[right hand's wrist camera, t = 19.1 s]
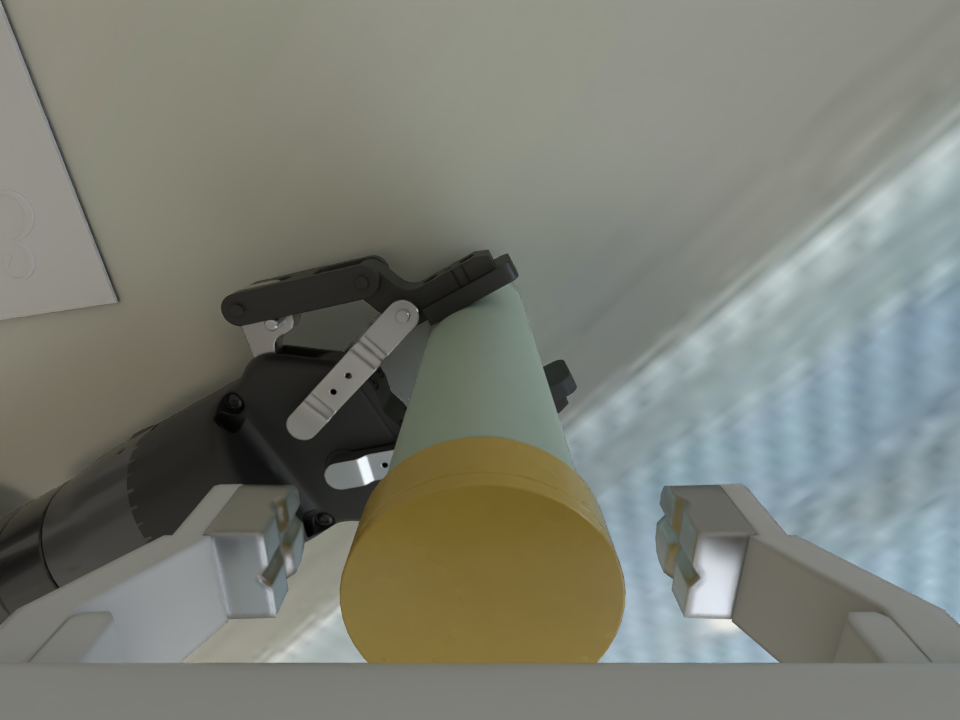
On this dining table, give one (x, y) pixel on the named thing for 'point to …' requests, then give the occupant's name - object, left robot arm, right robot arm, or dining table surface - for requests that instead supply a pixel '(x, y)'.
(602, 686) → the right robot arm
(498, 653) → the lid
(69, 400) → the dining table surface
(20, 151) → the invitation card
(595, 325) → the dining table surface
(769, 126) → the dining table surface
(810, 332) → the dining table surface
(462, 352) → the mint green bottle
